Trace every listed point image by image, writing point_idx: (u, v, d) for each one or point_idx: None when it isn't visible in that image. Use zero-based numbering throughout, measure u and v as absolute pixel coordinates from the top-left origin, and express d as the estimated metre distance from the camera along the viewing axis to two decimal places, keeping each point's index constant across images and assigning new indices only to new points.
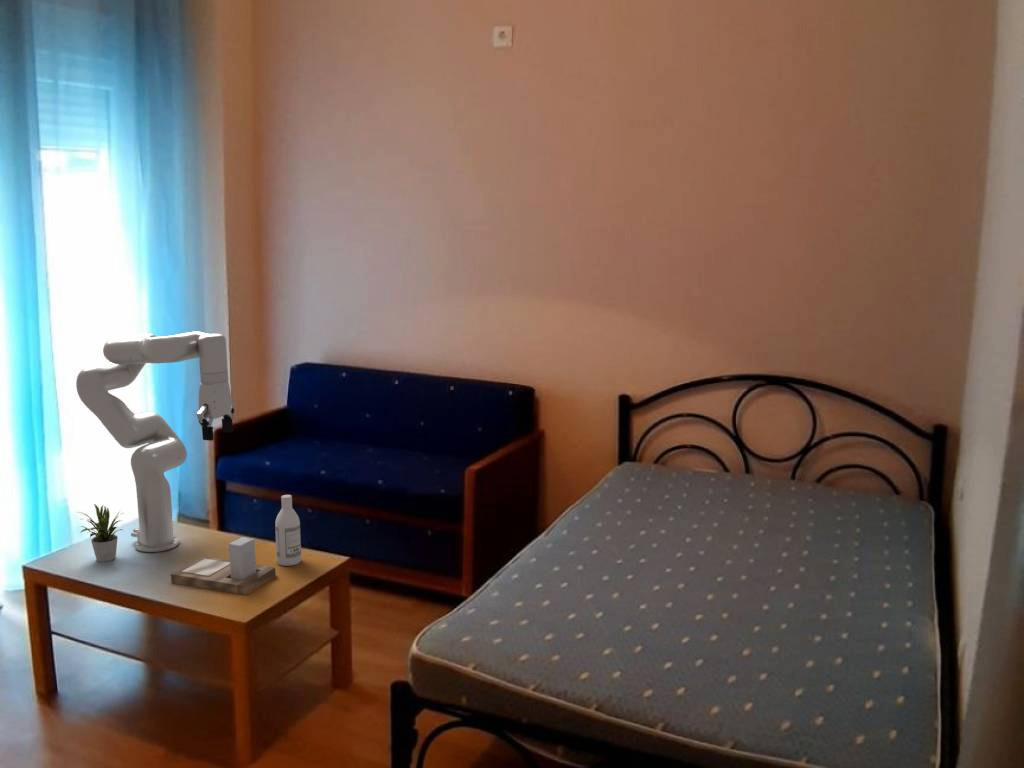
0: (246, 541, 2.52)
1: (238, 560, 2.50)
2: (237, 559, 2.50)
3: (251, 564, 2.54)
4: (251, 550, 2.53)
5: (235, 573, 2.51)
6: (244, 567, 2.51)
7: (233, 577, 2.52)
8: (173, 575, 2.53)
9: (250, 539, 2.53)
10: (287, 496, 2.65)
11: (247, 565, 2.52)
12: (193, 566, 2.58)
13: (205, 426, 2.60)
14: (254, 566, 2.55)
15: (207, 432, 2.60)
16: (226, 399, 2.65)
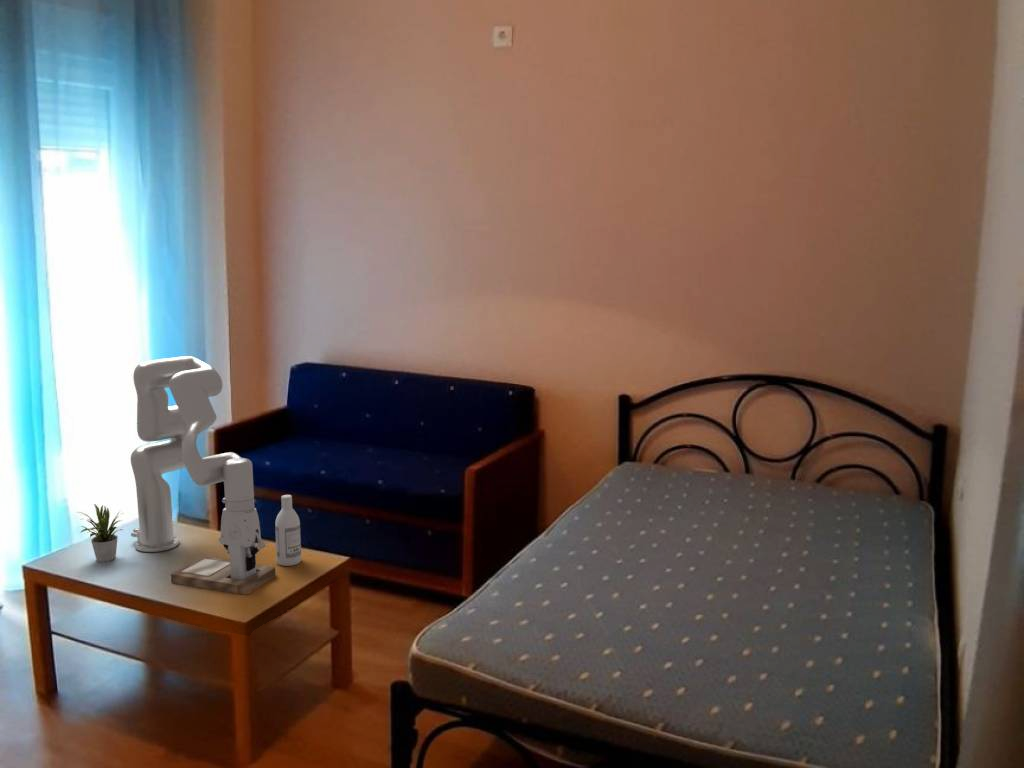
0: None
1: (238, 560, 2.50)
2: (237, 559, 2.50)
3: None
4: (251, 550, 2.53)
5: (235, 573, 2.51)
6: (244, 567, 2.51)
7: (233, 577, 2.52)
8: (173, 575, 2.53)
9: None
10: (287, 496, 2.65)
11: None
12: (193, 566, 2.58)
13: (254, 554, 2.52)
14: None
15: (254, 560, 2.52)
16: None
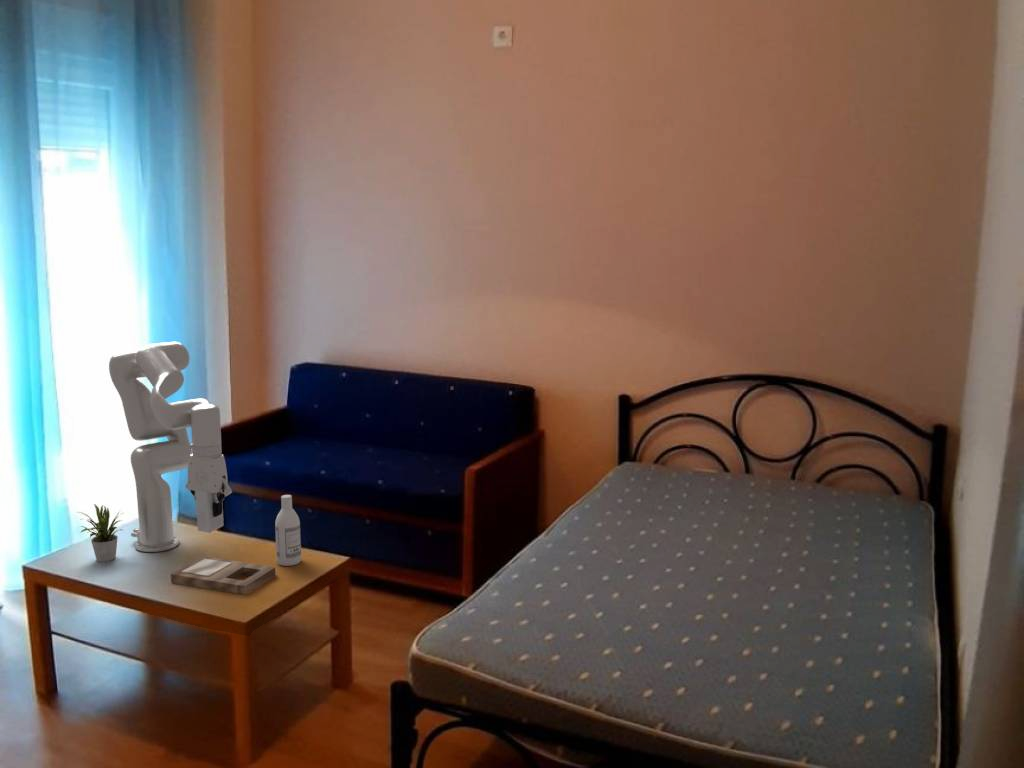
0: None
1: (204, 506, 2.51)
2: (203, 505, 2.51)
3: None
4: None
5: (202, 519, 2.52)
6: (210, 513, 2.52)
7: (200, 523, 2.53)
8: (173, 575, 2.53)
9: None
10: (287, 496, 2.65)
11: None
12: (193, 566, 2.58)
13: (221, 500, 2.53)
14: None
15: (221, 506, 2.53)
16: None
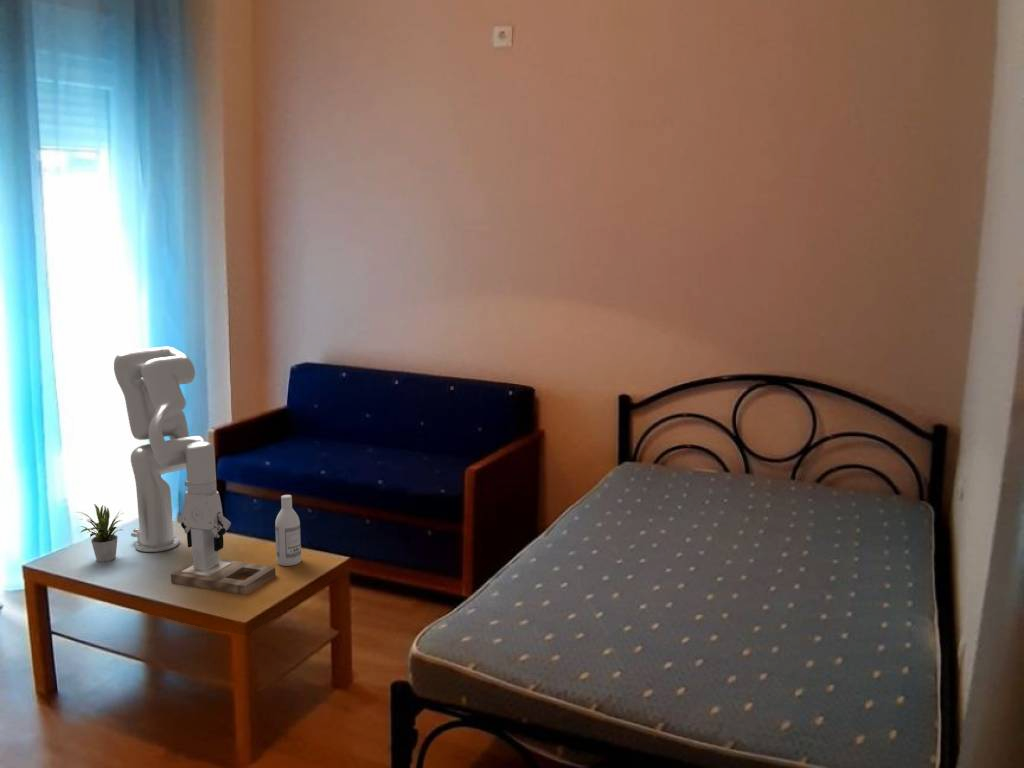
0: None
1: (200, 545, 2.53)
2: (199, 543, 2.54)
3: (213, 549, 2.57)
4: (213, 535, 2.57)
5: (197, 557, 2.55)
6: (206, 551, 2.54)
7: (195, 561, 2.55)
8: (173, 575, 2.53)
9: None
10: (287, 496, 2.65)
11: (210, 550, 2.56)
12: (193, 566, 2.58)
13: (222, 535, 2.54)
14: None
15: (222, 540, 2.55)
16: None
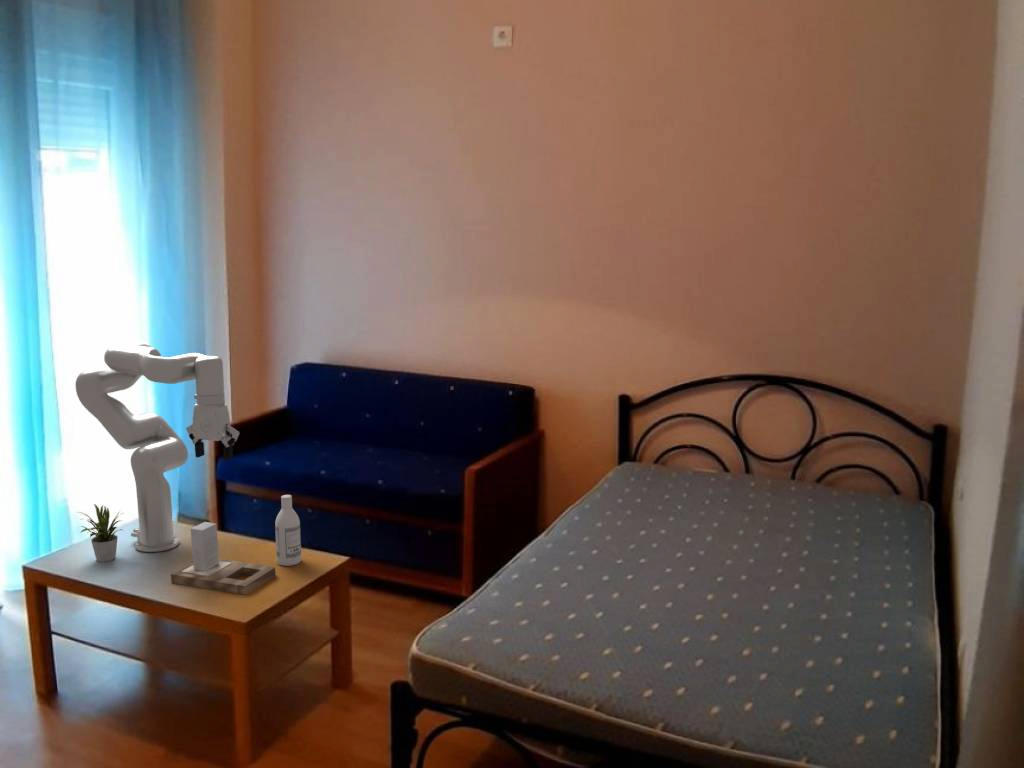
0: (208, 526, 2.55)
1: (200, 545, 2.53)
2: (199, 543, 2.54)
3: (213, 549, 2.57)
4: (213, 535, 2.57)
5: (197, 557, 2.55)
6: (206, 551, 2.54)
7: (195, 561, 2.55)
8: (173, 575, 2.53)
9: (212, 524, 2.57)
10: (287, 496, 2.65)
11: (210, 550, 2.56)
12: (193, 566, 2.58)
13: (231, 445, 2.64)
14: (216, 550, 2.58)
15: (231, 451, 2.65)
16: None
